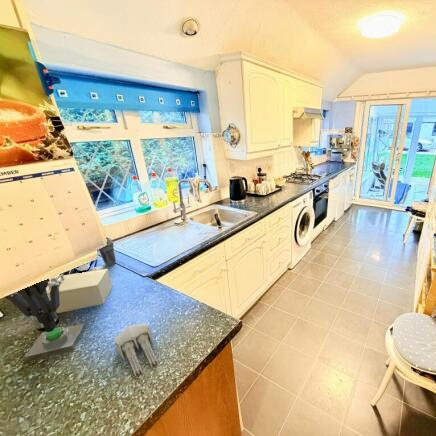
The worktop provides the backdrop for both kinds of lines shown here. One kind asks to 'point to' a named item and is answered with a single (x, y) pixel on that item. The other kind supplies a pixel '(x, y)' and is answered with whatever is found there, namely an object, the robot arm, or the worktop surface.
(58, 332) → the button
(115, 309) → the worktop surface
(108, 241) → the beverage cup
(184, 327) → the worktop surface
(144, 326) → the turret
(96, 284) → the chest lid
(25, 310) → the robot arm
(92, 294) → the chest
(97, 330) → the worktop surface
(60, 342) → the block
